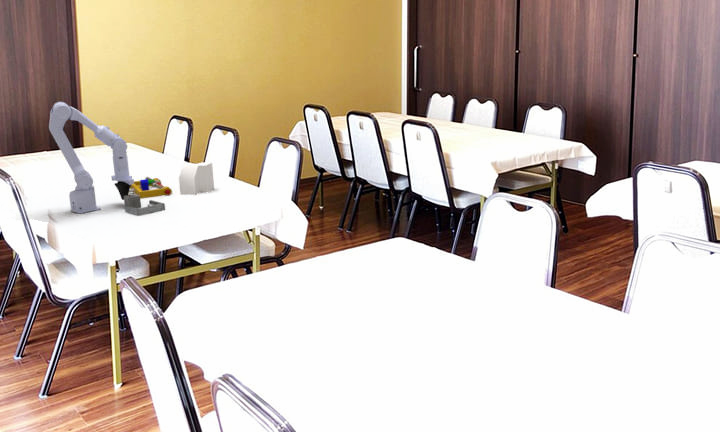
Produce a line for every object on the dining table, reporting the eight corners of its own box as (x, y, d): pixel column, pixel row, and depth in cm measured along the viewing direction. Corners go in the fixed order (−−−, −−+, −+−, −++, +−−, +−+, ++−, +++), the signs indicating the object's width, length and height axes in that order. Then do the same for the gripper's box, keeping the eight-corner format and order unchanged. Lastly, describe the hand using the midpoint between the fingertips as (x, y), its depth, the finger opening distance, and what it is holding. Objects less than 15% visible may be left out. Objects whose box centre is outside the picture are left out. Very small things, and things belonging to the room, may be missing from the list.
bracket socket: (139, 215, 304) (138, 208, 303) (125, 211, 311) (124, 204, 310) (166, 209, 312) (165, 202, 311) (151, 205, 319) (151, 198, 318)
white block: (214, 189, 346) (212, 162, 343) (202, 195, 336) (200, 167, 333) (192, 188, 349) (190, 162, 346) (180, 194, 339) (177, 167, 336)
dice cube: (129, 209, 314) (127, 197, 313) (124, 207, 318) (123, 195, 317) (141, 207, 317) (139, 195, 316) (136, 205, 321) (135, 193, 320)
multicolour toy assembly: (157, 170, 363) (171, 181, 336) (158, 183, 364) (173, 196, 338) (116, 175, 355) (128, 187, 329) (118, 188, 357) (129, 201, 330)
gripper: (139, 167, 316) (142, 199, 320) (121, 163, 326) (124, 195, 329) (123, 170, 311) (127, 203, 315) (105, 166, 321) (109, 198, 325)
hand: (124, 199), depth 322 cm, fingers closed
